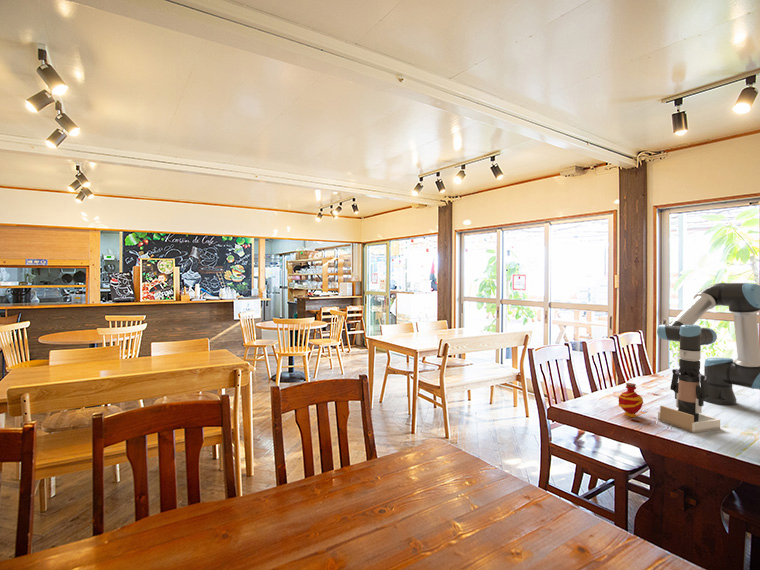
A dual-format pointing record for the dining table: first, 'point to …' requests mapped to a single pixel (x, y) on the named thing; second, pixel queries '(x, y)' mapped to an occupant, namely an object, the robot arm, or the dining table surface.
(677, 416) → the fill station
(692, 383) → the travel mug
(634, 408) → the potion bottle
